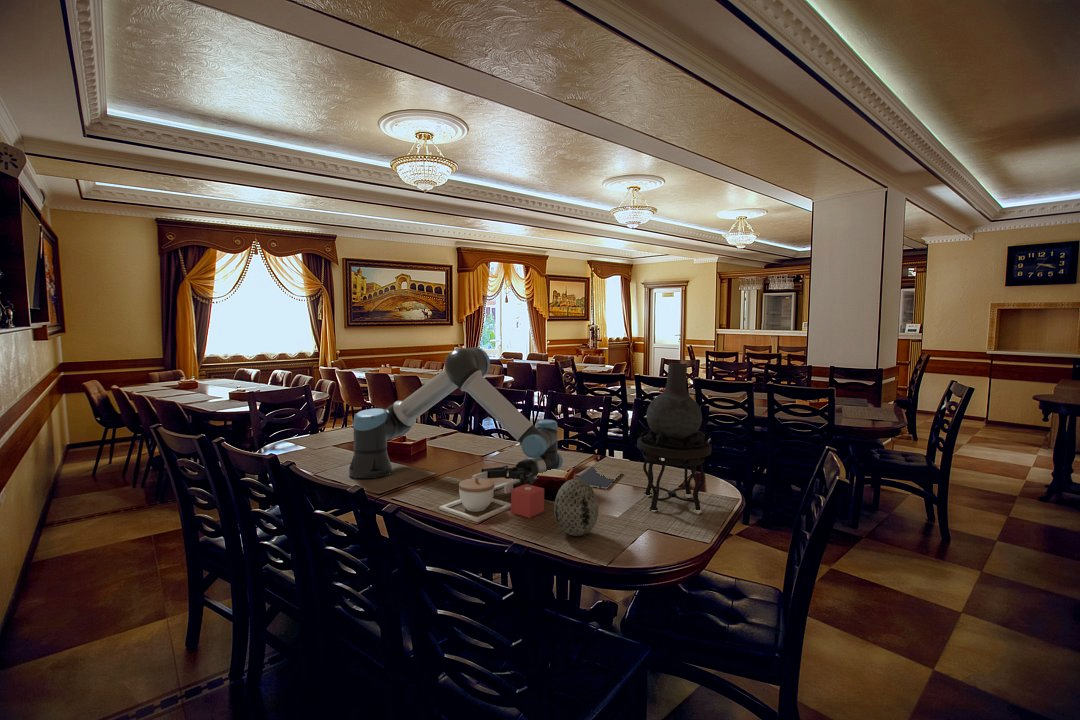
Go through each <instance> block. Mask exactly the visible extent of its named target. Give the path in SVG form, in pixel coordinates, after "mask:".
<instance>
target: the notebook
mask: <svg viewBox="0 0 1080 720" xmlns="http://www.w3.org/2000/svg"><path fill="white" fill-rule="evenodd" d="M595 467H596V466H595ZM595 467H594V466H591V467H589V468H588V469H587V470H586V471H584V472H583V473H582V474H581V475H579V476H578V477H577V478H575V479H581V480H583V481H585V482H586V483H587V484H589V485H590V487H591V488H593V487H597V488H596V489H599V488H608V487H609V486H610V485H611V484H612V482H613V481H614V479H610V478H609V479H608V478H606V477H605V476H604V475H603V476H602V475H601V476H600V474H598V473H596V472H597V471H596V470H595V469H594V468H595ZM612 485H613V484H612ZM612 485H611V486H612ZM611 486H610V487H611ZM610 487H609V488H610ZM609 488H608V489H609Z"/></svg>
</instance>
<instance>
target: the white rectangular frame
mask: <svg viewBox="0 0 1080 720" xmlns="http://www.w3.org/2000/svg"><path fill="white" fill-rule="evenodd" d="M506 483H507V482H504V483H500V484H497V485H496V486H495V485H494V490H495V491H497V490H499V489H504V484H506ZM496 489H497V490H496ZM493 502H494V503H493ZM491 503H493V504H498V505H500V506H501V507H498V508H496V509H494V510H491V511H489V512H486V513H484V514H481V515H479V516H474V515H471V514H468V513H465V512H462V511H460V510H456V509H453V508H451V507H455V506H457V505H460V504H462V502H461V500H460V498H459V499H456V500H453V501H451V502H448V503H445V504H442V505H440V506H439V507H438V510H441V511H443V512H445V513H449V514H452V515H455V516H458V517H460V518H463V519H466V520H469V521H472V522H475V523H479V522H481V521H483V520H485V519H488V518H491V517H493V516H496V515H497V514H500V513H502V512H504V511H506V510H509V509H511V502H507V501H504V500H500V499H496V498H494V497H493V499H492V501H491Z"/></svg>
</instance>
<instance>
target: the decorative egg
mask: <svg viewBox="0 0 1080 720" xmlns="http://www.w3.org/2000/svg"><path fill="white" fill-rule="evenodd" d="M553 506H554V507H553V508H554V509H553V511H554V518H555V521H556V523H557V525H558V527H559V528H560V529H561V530H562V531H563V532H565V533H566V534H567V535H569V536H574V537H580V536H583V535H586V534H588V533H589V532H590V531H592V530H593V529H594V527H595V525H596V523H597V522H598V521H597V520H598V517H599V502H598V499H597V495H596V492H595V490H594V488H593V487H590V485H589V484H587V483H586V482H585V481H583V480H581V479H576V478H571V479H569V480H567V481H565V482H564V483H563V484H562V485H561V487H560V488H559V489H558V491H557V493H556V496H555V499H554V505H553Z"/></svg>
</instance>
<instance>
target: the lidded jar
mask: <svg viewBox="0 0 1080 720" xmlns="http://www.w3.org/2000/svg"><path fill="white" fill-rule="evenodd" d="M494 487H495V481H493V480H492V479H490V478H487V479H485V478H478V477H476V478H472V477H471V478H466V479H463V480H461V481H460V482H459V483H458V494H459V499H460V500H461V502H462V503H461V504H462V506H464V508H466V511H468V512H473V513H475V512H476V513H477V512H483V511H485V510H487V508H488V507H489V506H490V504H491V503H492V502H491V501H492V499H493V498H494V493H495V491H494Z"/></svg>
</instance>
